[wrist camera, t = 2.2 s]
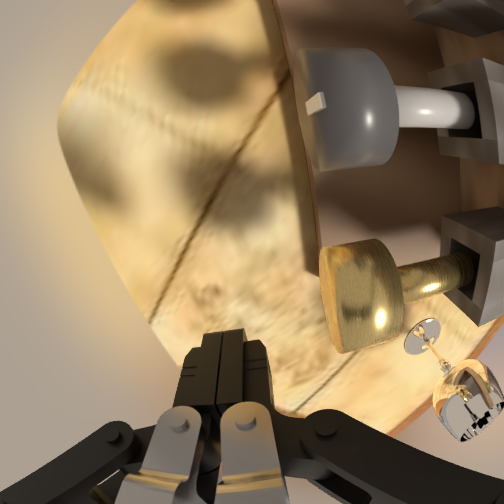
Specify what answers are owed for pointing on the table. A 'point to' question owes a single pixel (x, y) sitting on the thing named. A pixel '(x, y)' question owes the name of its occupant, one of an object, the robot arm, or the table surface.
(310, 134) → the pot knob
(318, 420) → the robot arm
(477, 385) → the wineglass
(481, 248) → the mount
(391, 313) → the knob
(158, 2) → the table surface
